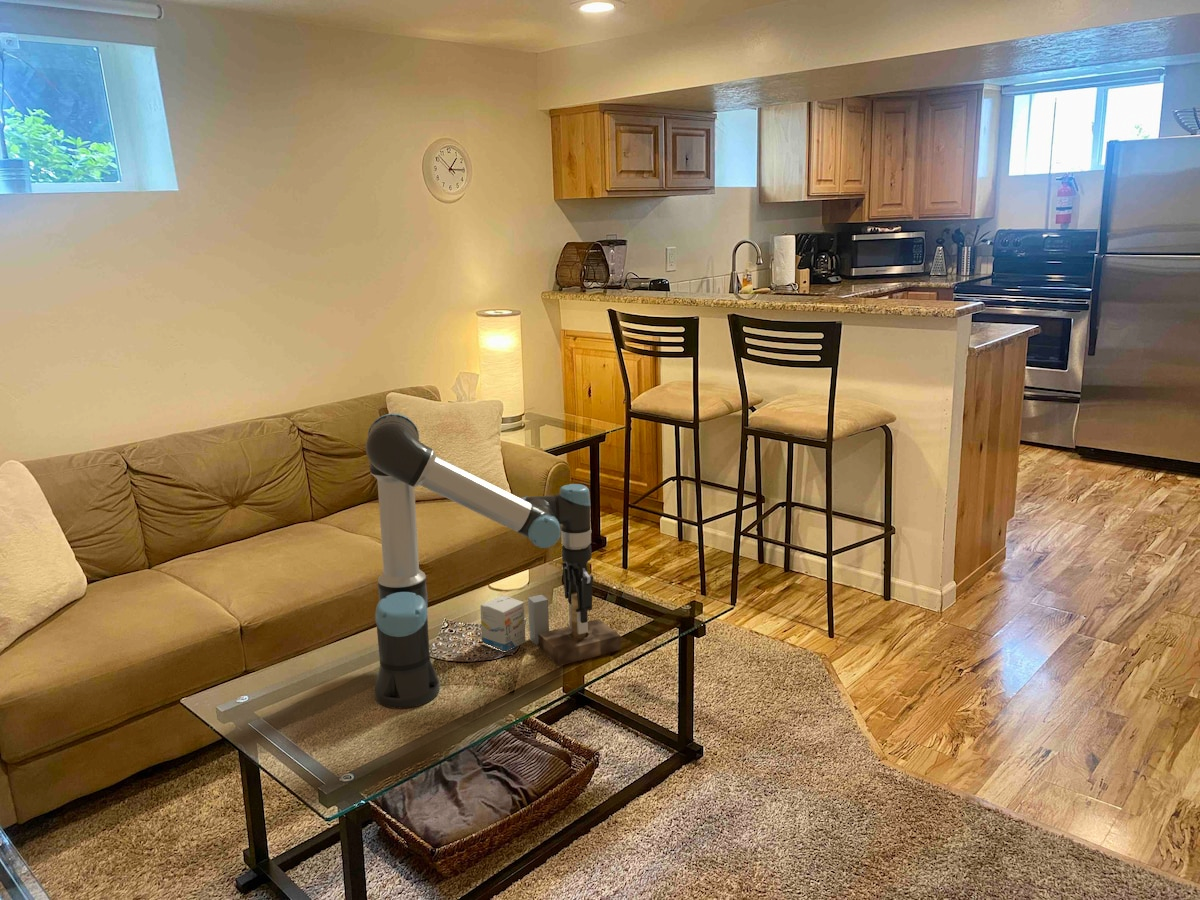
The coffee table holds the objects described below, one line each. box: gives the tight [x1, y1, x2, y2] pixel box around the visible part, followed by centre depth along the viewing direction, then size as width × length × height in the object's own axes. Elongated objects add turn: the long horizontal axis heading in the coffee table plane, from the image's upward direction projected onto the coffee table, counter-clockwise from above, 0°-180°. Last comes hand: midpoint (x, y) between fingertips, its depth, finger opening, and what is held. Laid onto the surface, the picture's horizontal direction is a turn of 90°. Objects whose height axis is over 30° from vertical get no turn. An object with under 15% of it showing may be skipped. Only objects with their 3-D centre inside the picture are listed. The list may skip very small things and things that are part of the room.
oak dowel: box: [571, 592, 586, 639], centre depth 231 cm, size 4×4×14 cm
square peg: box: [527, 594, 550, 646], centre depth 237 cm, size 4×4×12 cm
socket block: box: [538, 618, 622, 667], centre depth 232 cm, size 18×12×4 cm, turn 118°
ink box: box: [480, 595, 527, 651], centre depth 235 cm, size 9×8×12 cm
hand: (579, 629), depth 231 cm, fingers closed on oak dowel, 3 cm apart
